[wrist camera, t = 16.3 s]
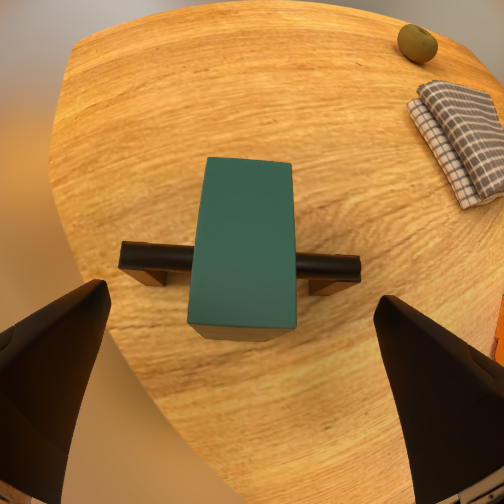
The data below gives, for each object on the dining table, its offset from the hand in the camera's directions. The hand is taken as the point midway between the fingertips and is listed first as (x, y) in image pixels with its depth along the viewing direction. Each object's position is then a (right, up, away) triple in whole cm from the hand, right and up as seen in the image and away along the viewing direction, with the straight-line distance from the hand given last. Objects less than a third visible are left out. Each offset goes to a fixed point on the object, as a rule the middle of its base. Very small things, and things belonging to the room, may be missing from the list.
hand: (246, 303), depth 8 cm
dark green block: (-1, -1, +11) cm, 11 cm away
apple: (+29, +37, +26) cm, 54 cm away
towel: (+29, +15, +19) cm, 38 cm away
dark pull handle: (-1, -1, +11) cm, 11 cm away
